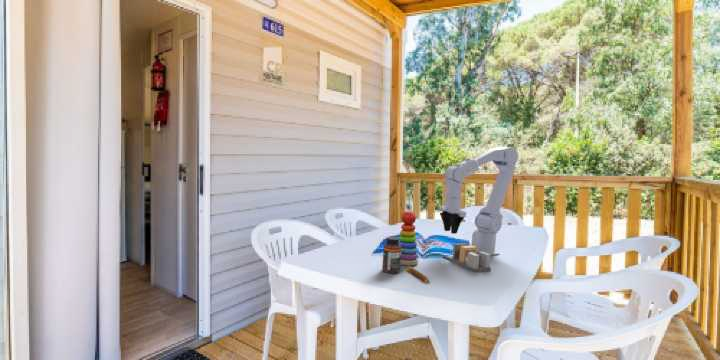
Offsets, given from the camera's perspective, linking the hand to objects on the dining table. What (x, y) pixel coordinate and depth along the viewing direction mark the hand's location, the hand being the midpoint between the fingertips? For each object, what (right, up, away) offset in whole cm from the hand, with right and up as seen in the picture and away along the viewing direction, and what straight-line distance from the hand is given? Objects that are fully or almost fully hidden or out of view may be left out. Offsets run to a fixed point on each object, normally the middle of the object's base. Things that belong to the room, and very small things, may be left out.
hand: (450, 232), depth 152 cm
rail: (+4, -10, -9) cm, 14 cm away
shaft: (+4, -9, -9) cm, 13 cm away
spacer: (+4, -9, -10) cm, 14 cm away
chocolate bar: (-17, -12, -26) cm, 33 cm away
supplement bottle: (-25, -10, -22) cm, 35 cm away
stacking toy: (-19, -10, -12) cm, 24 cm away
